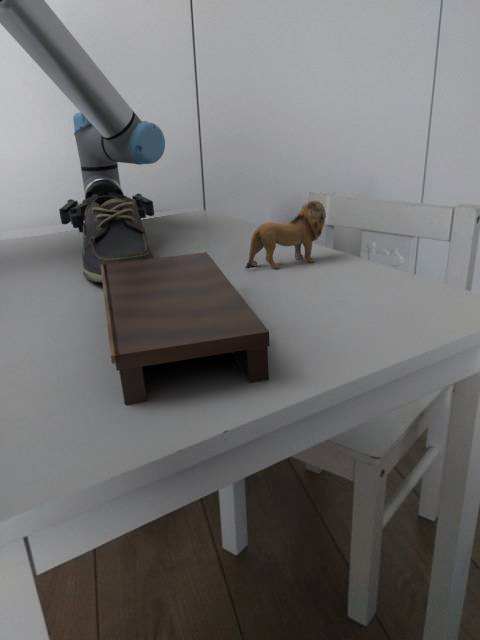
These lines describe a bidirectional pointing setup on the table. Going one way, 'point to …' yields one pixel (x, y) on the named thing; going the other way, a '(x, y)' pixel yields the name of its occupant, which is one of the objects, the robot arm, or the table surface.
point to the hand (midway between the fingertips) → (109, 221)
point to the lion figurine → (289, 234)
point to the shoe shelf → (177, 318)
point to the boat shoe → (112, 235)
